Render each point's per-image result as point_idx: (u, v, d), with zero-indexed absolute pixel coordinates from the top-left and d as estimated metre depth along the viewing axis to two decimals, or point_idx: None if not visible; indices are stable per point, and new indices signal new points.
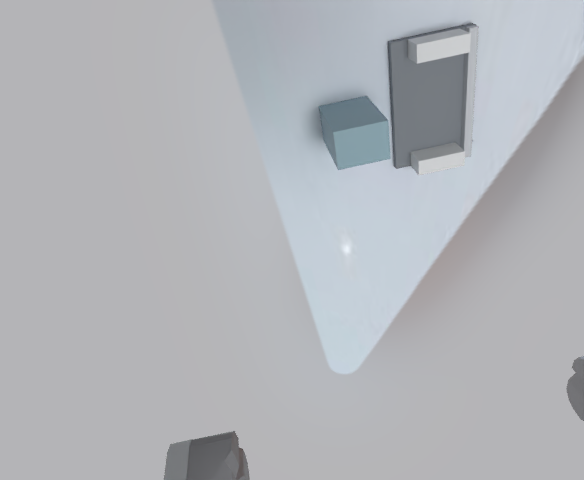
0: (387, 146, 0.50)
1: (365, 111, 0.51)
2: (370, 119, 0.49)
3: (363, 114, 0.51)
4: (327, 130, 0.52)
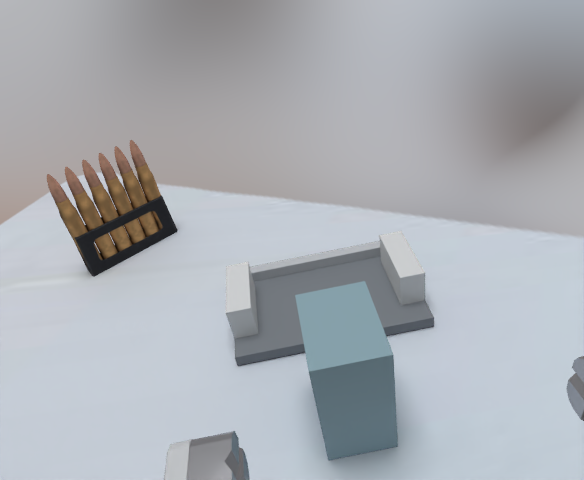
0: (341, 288, 0.28)
1: None
2: None
3: None
4: (343, 413, 0.26)
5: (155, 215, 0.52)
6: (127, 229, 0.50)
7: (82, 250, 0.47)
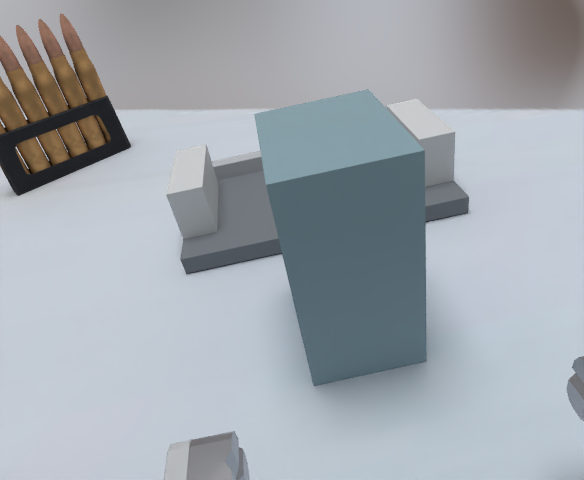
0: (330, 99, 0.17)
1: None
2: None
3: None
4: (334, 289, 0.15)
5: (100, 122, 0.41)
6: (63, 137, 0.40)
7: None
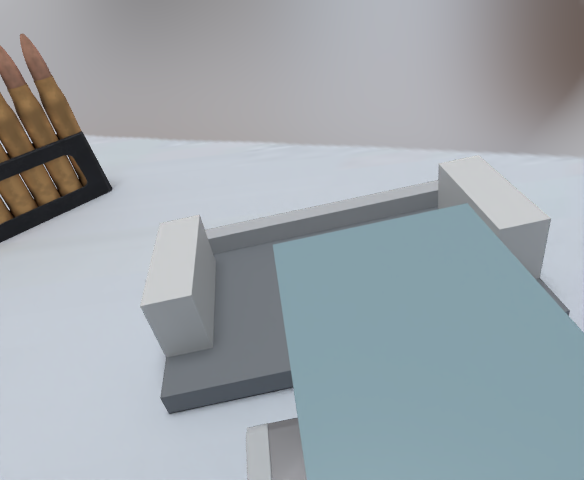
0: (403, 222, 0.10)
1: None
2: None
3: None
4: None
5: (74, 163, 0.34)
6: (27, 183, 0.32)
7: None
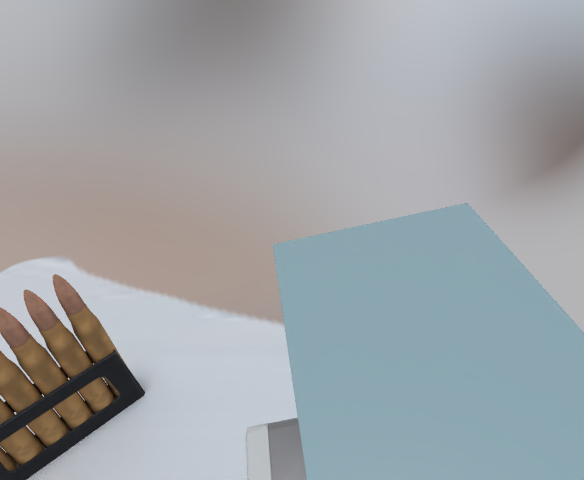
0: (404, 222, 0.10)
1: None
2: None
3: None
4: None
5: (106, 379, 0.32)
6: (57, 411, 0.30)
7: None
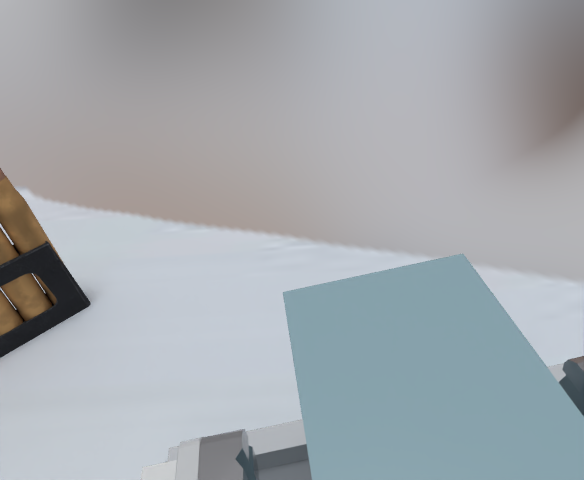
0: (404, 272, 0.11)
1: None
2: None
3: None
4: None
5: (39, 279, 0.26)
6: None
7: None
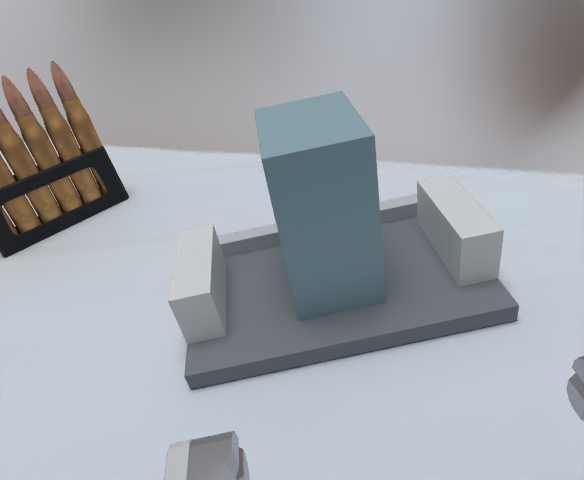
0: (312, 98, 0.22)
1: None
2: None
3: None
4: (312, 240, 0.20)
5: (96, 174, 0.38)
6: (54, 192, 0.36)
7: None
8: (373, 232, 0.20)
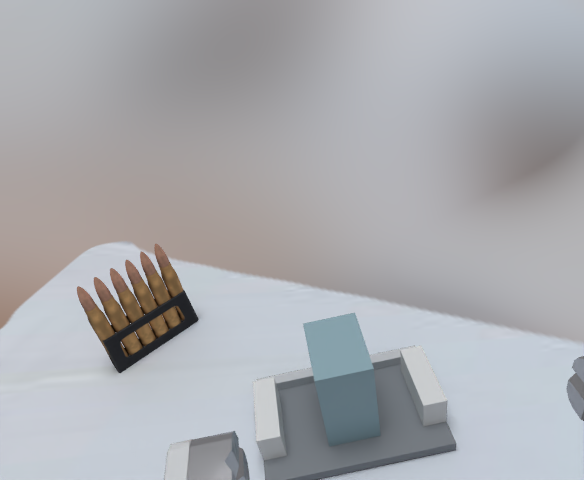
0: (337, 318, 0.38)
1: None
2: None
3: None
4: (339, 411, 0.36)
5: (177, 308, 0.54)
6: (151, 324, 0.52)
7: (109, 351, 0.49)
8: (373, 405, 0.36)
